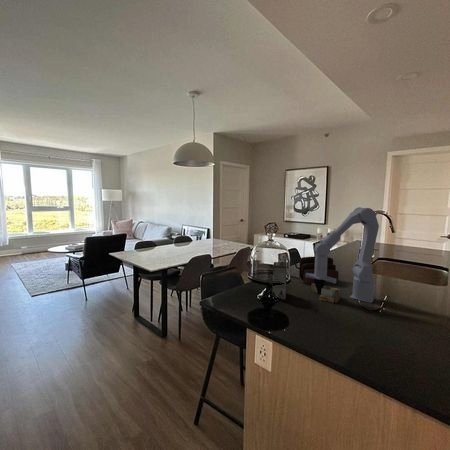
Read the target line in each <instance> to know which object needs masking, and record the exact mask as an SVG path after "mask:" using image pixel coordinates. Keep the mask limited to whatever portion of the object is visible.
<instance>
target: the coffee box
mask: <svg viewBox="0 0 450 450" xmlns="http://www.w3.org/2000/svg"><path fill="white" fill-rule="evenodd" d="M272 266H273V268H272V269H273V271H272V282H273V281H280V282H282V283H284V284H282V285H275V286H273V285H272V292H273V291H274V292H275V294H276V295H277V296H278V297H279V298H281V299H280V300H286V298H287V297H286V296H287V295H286V294H287V272H288V271H287V269H288V268H287V267H288V266H287V262H285V261H284V262H281V261H273V265H272Z"/></svg>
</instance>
